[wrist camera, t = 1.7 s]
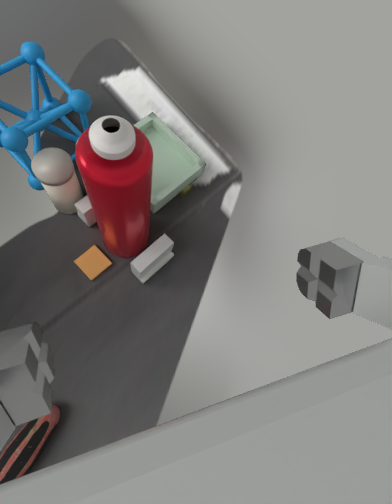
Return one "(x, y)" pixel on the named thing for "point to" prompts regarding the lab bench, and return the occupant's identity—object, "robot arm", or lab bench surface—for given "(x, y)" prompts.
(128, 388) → the lab bench surface
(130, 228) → the bottle
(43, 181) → the assorted small pieces
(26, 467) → the screwdriver
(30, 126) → the molecular structure
